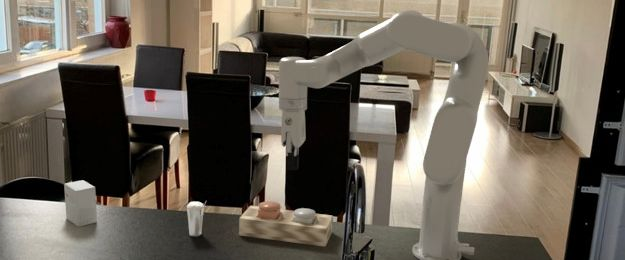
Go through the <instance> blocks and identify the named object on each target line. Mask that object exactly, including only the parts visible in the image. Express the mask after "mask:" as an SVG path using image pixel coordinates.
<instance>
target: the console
mask: <svg viewBox="0 0 625 260" xmlns="http://www.w3.org/2000/svg"><path fill="white" fill-rule="evenodd" d="M258 210H259V205H258V206H257V205H249V207H248V208H247V209H246V210H245V211H244V212H243V213H242V214H241V216H240V217H239V221H238V223H239V224H238V225H239V226H238V235H239V236H242V237H251V238H257V239H264V240H270V241H271V240H272V241H281V242H287V243H288V242H289V243H296V244H304V245H309V246H316V247H323V248H325V247H327V245H328V241H329V240H330V237H331V236H332V233H333V222H334V221H333V219H334V216H333V215H330V214H321V213H316V214H315V222H314V224H306V223H298V222H294V211H295V210H289V209H282V208H281V210H280V216H279V218H278V219H277V220H274V219H266V218H258Z"/></svg>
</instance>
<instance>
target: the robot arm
mask: <svg viewBox="0 0 625 260" xmlns="http://www.w3.org/2000/svg"><path fill="white" fill-rule="evenodd" d="M404 50H407V51H409V52H413V53H416V54H420V55H423V56H427V57H430V58H433V59H436V60H440V61H444V62H448V63H452V67H451V72H450V75H449V80H448V85H447V89H446V92H445V95H444V97H443V98H444V99H443V101H442V104H441V106H440V107H439V108H438V111H437V112H436V115H434V116H435V117H434V120H433V123H432V126H431V131H430V134H429V138H428V141H427V142H428V143H427V146H426V149H425V153H424V157H423V162H422V170H423V172H424V175H425V182H424V187H423V188H424V191H423V198H422V199H423V201H422V208H421V220H420V230H419V241H418V242H417V243H414V244H413V246H412V254H413V256H415V258H417V259H418V260H461V259H462V254H466V255H471V256H474V255H475V247H474V246H470V243H462V242H460V241H459V237H458V234H459V226H460V224H459V223H460V214H461V206H462V200H463V199H462V197H463V191H464V190H463V189H464V181H465V173H466V167H467V158H468V154H469V150H470V147H471V144H472V141H473V137H474V133H475V129H476V126H477V122H478V112H479V107H480V104H481V100H482V98H483V97H482V96H483V93H484V88H485V85H486V82H487V81H486V80H487V76H488V72H489V71H488V70H489V55H488V50H487V48H486V45H485V43H484V41H483V39H482V38H481V37H480V35H479V34H478V33H477V32H476V31H475V30H474V29H472V28H471V27H470V26H469V25H466V24H464V23H461V22H453V23H452V22H451V23H448V22H445V21H440V20H436V19H433V18H429V17H425V16H423V14H421V12H419V11H417V10H414V9H407V10H402V11H399V12H397V13H395V14H394V15H393V16H392V17H390V18H389V19H386V20H384V21H383V22H380V23H379V24H376V25H375V26H373V27H370V28H369V29H367V30H365V31H362V32H361V33H359V34H358V35H357V36H355V38H354V39H352V41H350V42H348V43H347V44H345V45H343V46H341V47H339V48H337V49H335V50H333V51H332V52H329V53H327V54H325V55H323V56H320V57H318V58H315V59H314V58H313V59H306V58H304V57H300V56H286V57H282V58H281V59H280V60H279V62H278V110H280V111H281V127H280V129H281V130H280V135H281V137H280V142H281V146H282V147H283V148H284V147H285V169H286V170H288V171H297V170H298V169H299V166H300V165H299V162H300V160H299V159H300V158H299V157H300V155H299V150H300V149H299V148H300V147H302V145H303V144H304V142H305V141H306V138H307V137H306V114H305V113H306V110H307V109H308V88H312V89H321V88H324V87H326V86H329V85H330V84H333V83H334V82H337V81H338V80H340V79H342V78H345V77H347V76H349V75H351V74H353V73H354V72H357V71H359V70H361V69H364V68H365V67H366V68H367V67H370V66H374V65H375V64H379V63H380V62H381V61H384V60H386V59H387V58H388V59H389V58H390V57H392V56H394V55H396V54H398V53H400V52H403V51H404Z"/></svg>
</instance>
